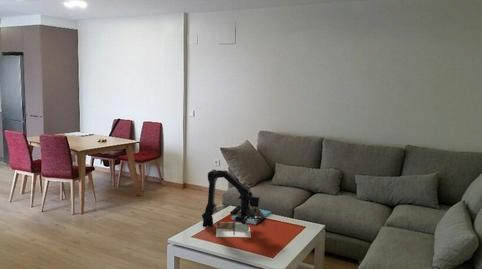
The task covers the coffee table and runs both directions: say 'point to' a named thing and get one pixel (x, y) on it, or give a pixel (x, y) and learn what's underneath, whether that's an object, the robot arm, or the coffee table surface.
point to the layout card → (232, 232)
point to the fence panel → (242, 226)
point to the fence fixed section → (225, 225)
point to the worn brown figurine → (257, 211)
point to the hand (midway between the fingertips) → (244, 226)
